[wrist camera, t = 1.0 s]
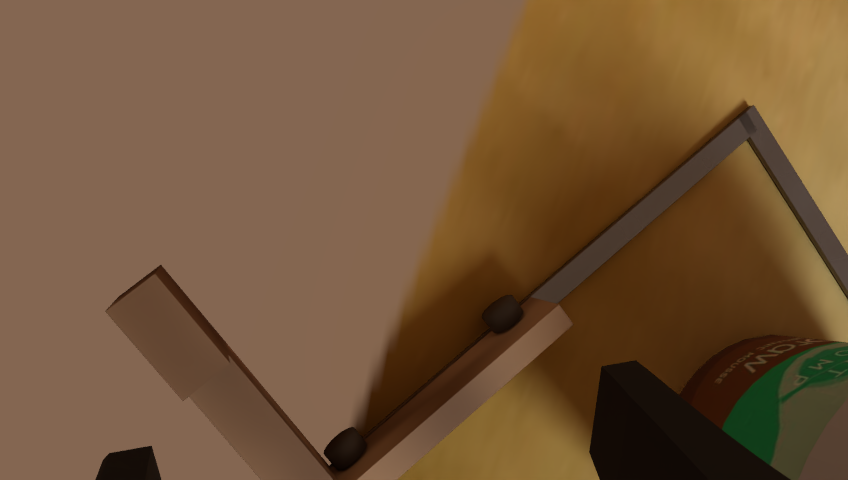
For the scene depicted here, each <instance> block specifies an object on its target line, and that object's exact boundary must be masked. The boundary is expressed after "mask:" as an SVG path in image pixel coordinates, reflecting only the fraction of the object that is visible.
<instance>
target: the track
mask: <svg viewBox="0 0 848 480" xmlns="http://www.w3.org/2000/svg"><path fill="white" fill-rule="evenodd" d="M745 140H748V141H749V143H750V145H751V146H752V148H753V149H754V151H755V152H756V154H757V156H758V157H759V159H760V160H761V162H762V163H763V165H764V167H765V168H766V170H767V171H768V173H769V174H770V176H771V178H772V179H773V181H774V182H775V184H776V186H777V187H778V189H779V190H780V192H781V193H782V195H783V197H784V198H785V200H786V201H787V203H788V204H789V206H790V208H791V209H792V211H793V212H794V214H795V215H796V217H797V219H798V220H799V222H800V223H801V225H802V227H803V228H804V230H805V231H806V233H807V234H808V236H809V238H810V239H811V241H812V242H813V244H814V245H815V247H816V249H817V250H818V252H819V253H820V255H821V256H822V258H823V260H824V261H825V263H826V264H827V266H828V268H829V269H830V271H831V272H832V274H833V275H834V277H835V279H836V280H837V282H838V283H839V285H840V286H841V288H842V290H843V291H844V293H845V294H846V296H847V297H848V255H847V253H846V251H845V250H844V248H843V247H842V245H841V243H840V242H839V240H838V239H837V237H836V235H835V234H834V232H833V231H832V229H831V227H830V226H829V224H828V223H827V221H826V219H825V218H824V216H823V215H822V213H821V212H820V210H819V208H818V207H817V205H816V204H815V202H814V200H813V199H812V197H811V196H810V194H809V192H808V191H807V189H806V188H805V186H804V184H803V183H802V181H801V180H800V178H799V176H798V175H797V173H796V172H795V170H794V168H793V167H792V165H791V164H790V162H789V160H788V159H787V157H786V156H785V154H784V152H783V151H782V149H781V148H780V146H779V144H778V143H777V141H776V140H775V138H774V136H773V135H772V133H771V132H770V130H769V128H768V127H767V125H766V124H765V122H764V120H763V119H762V117H761V116H760V114H759V112H758V111H757V109H756V108H755V106H754V105H752V106H749V107H748V108H747V109H746V110H744V111H743V112H742V113H741V114H740V115H739V116H737V117H736V118H735V119H734V120H733V121H732V122H730V123H729V124H728V125H727V126H726V127H725V128H723V129H722V130H721V131H720V132H719V133H718V134H716V135H715V136H714V137H713V138H712V139H711V140H709V141H708V142H707V143H706V144H705V145H703V146H702V147H701V148H700V149H699V150H698V151H696V152H695V153H694V154H693V155H692V156H691V157H689V158H688V159H687V160H686V161H685V162H684V163H682V164H681V165H680V166H679V167H678V168H677V169H675V170H674V171H673V172H672V173H671V174H670V175H668V176H667V177H666V178H665V179H664V180H663V181H661V182H660V183H659V184H658V185H657V186H656V187H654V188H653V189H652V190H651V191H650V192H649V193H647V194H646V195H645V196H644V197H643V198H642V199H640V200H639V201H638V202H637V203H636V204H635V205H633V206H632V207H631V208H630V209H629V210H628V211H626V212H625V213H624V214H623V215H622V216H621V217H619V218H618V219H617V220H616V221H615V222H614V223H612V224H611V225H610V226H609V227H608V228H607V229H605V230H604V231H603V232H602V233H601V234H600V235H598V236H597V237H596V238H595V239H594V240H592V241H591V242H590V243H589V244H588V245H587V246H585V247H584V248H583V249H582V250H581V251H580V252H578V253H577V254H576V255H575V256H574V257H573V258H571V259H570V260H569V261H568V262H567V263H566V264H564V265H563V266H562V267H561V268H560V269H559V270H557V271H556V272H555V273H554V274H553V275H552V276H550V277H549V278H548V279H547V280H546V281H545V282H543V283H542V284H541V285H540V286H539V287H538V288H536V289H535V290H534V291H533V292H532V293H531V294H529V295H528V296H527V297H526V298H525V299H524V300H522V301H521V302H520V303H519V305H520V306H521V305H522V304H523V303H525V302H526V301H527V300H528V299H529V298H530V297H533V298H536V299H540V300H544V301H548V302H552V303H556V304H557V303H558V302H560V301H561V300H562V299H563V298H564V297H565V296H566V295H568V294H569V293H570V292H571V291H572V290H573V289H575V288H576V287H577V286H578V285H579V284H580V283H581V282H583V281H584V280H585V279H586V278H587V277H588V276H590V275H591V274H592V273H593V272H594V271H595V270H596V269H598V268H599V267H600V266H601V265H602V264H603V263H605V262H606V261H607V260H608V259H609V258H610V257H612V256H613V255H614V254H615V253H616V252H617V251H618V250H620V249H621V248H622V247H623V246H624V245H625V244H627V243H628V242H629V241H630V240H631V239H632V238H633V237H635V236H636V235H637V234H638V233H639V232H640V231H642V230H643V229H644V228H645V227H646V226H647V225H648V224H650V223H651V222H652V221H653V220H654V219H655V218H657V217H658V216H659V215H660V214H661V213H662V212H663V211H665V210H666V209H667V208H668V207H669V206H670V205H672V204H673V203H674V202H675V201H676V200H677V199H678V198H680V197H681V196H682V195H683V194H684V193H685V192H687V191H688V190H689V189H690V188H691V187H692V186H693V185H695V184H696V183H697V182H698V181H699V180H700V179H702V178H703V177H704V176H705V175H706V174H707V173H708V172H710V171H711V170H712V169H713V168H714V167H715V166H717V165H718V164H719V163H720V162H721V161H722V160H723V159H725V158H726V157H727V156H728V155H729V154H730V153H732V152H733V151H734V150H735V149H736V148H737V147H738V146H740V145H741V144H742V143H743V142H744V141H745ZM491 331H492V330H491V329H488V330H487V331H486V332H485V333H484V334H483V335H481V336H480V337H479V338H478V339H477V340H476V341H474V342H473V343H472V344H471V345H470V346H469V347H467V348H466V349H465V350H464V351H463V352H462V353H460V354H459V355H458V356H457V357H456V358H455V359H453V360H452V361H451V362H450V363H449V364H448V365H446V366H445V367H444V368H443V369H442V370H441V371H439V372H438V373H437V374H436V375H435V376H434V377H432V378H431V379H430V380H429V381H428V382H427V383H425V384H424V385H423V386H422V387H421V388H420V389H418V390H417V391H416V392H415V393H414V394H413V395H411V396H410V397H409V398H408V399H407V400H406V401H404V402H403V403H402V404H401V405H400V406H399V407H397V408H396V409H395V410H394V411H393V412H392V413H390V414H389V415H388V416H387V417H386V418H385V419H383V420H382V421H381V422H380V423H379V424H377V425H376V426H375V427H374V428H373V429H372V430H370V431H369V432H368V433H367V434H366V435H365V436H363V437H362V438H363V439H364V440H365V439H366V438H367V437H368V436H369V435H371V434H372V433H373V432H374V431H375V430H376V429H378V428H379V427H380V426H381V425H382V424H383V423H385V422H386V421H387V420H388V419H389V418H390V417H392V416H393V415H394V414H395V413H396V412H397V411H399V410H400V409H401V408H402V407H403V406H404V405H406V404H407V403H408V402H409V401H410V400H411V399H413V398H414V397H415V396H416V395H417V394H418V393H420V392H421V391H422V390H423V389H424V388H425V387H427V386H428V385H429V384H430V383H431V382H432V381H434V380H435V379H436V378H437V377H438V376H439V375H441V374H442V373H443V372H444V371H445V370H446V369H448V368H449V367H450V366H451V365H452V364H453V363H455V362H456V361H457V360H458V359H459V358H460V357H462V356H463V355H464V354H465V353H466V352H467V351H469V350H470V349H471V348H472V347H473V346H474V345H476V344H477V343H478V342H479V341H480V340H481V339H483V338H484V337H485V336H486V335H487V334H488V333H490V332H491ZM332 467H333V464H331V465H330V468H332Z"/></svg>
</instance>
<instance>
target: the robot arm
mask: <svg viewBox="0 0 848 480" xmlns="http://www.w3.org/2000/svg"><path fill="white" fill-rule="evenodd" d="M589 452H590V455H591V458H592V460H593V463H594V466H595V468H596V471H597V474H598V476H599V479H600V480H791V479H789V478H788V477H786V476H785V475H783V474H782V473H780V472H779V471H778V470H776V469H775V468H773V467H772V466H770V465H769V464H767V463H766V462H765V461H763V460H762V459H760V458H759V457H758V456H756V455H755V454H754V453H752V452H751V451H749V450H748V449H747V448H745V447H744V446H743V445H741V444H740V443H739V442H738V441H736V440H735V439H734V438H732V437H731V436H730V435H728V434H727V433H726V432H724V431H723V430H722V429H720V428H719V427H718V426H717V425H715V424H714V423H713V422H712V421H710V420H709V419H708V418H706V417H705V416H704V415H703V414H701V413H700V412H699V411H698V410H697V409H695V408H694V407H693V406H692V405H690V404H689V403H688V402H687V401H685V400H684V399H683V398H682V397H680V396H679V395H678V394H677V393H676V392H674V391H673V390H672V389H671V388H669V387H668V386H667V385H666V384H664V383H663V382H662V381H661V380H660V379H658V378H657V377H656V376H655V375H653V374H652V373H651V372H650V371H649V370H647V369H646V368H645V367H644V366H642V365H641V364H640V363H639V362H637V361H636V360H635V361H630V362H624V363H618V364H613V365H607V366H602V368H601V375H600V382H599V389H598V395H597V402H596V409H595V416H594V423H593V430H592V437H591V444H590V451H589ZM96 480H161V477H160V473H159V470H158V467H157V463H156V459H155V456H154V453H153V449H152V446H148V447H143V448H136V449H131V450H126V451H120V452H114V453H109V454H108V455H107V456H106V457H105V459H104V460H103V462H102V464H101V467H100V469H99V472H98V475H97V477H96Z"/></svg>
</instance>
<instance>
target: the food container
mask: <svg viewBox="0 0 848 480" xmlns="http://www.w3.org/2000/svg"><path fill="white" fill-rule="evenodd" d="M679 396H680V397H682V398H683V399H684V400H685V401H687V402H688V403H689V404H690V405H692V406H693V407H694V408H695V409H697V410H698V411H699V412H700V413H701V414H703V415H704V416H705V417H706V418H708V419H709V420H710V421H712V422H713V423H714V424H715V425H717V426H718V427H719V428H720V429H722V430H723V431H724V432H726V433H727V434H728V435H730V436H731V437H732V438H734V439H735V440H736V441H738V442H739V443H740V444H741V445H743V446H744V447H745V448H747V449H748V450H749V451H751V452H752V453H754V454H755V455H756V456H758V457H759V458H760V459H762V460H763V461H765V462H766V463H767V464H769V465H770V466H772V467H773V468H775V469H776V470H778V471H779V472H780V473H782V474H783V475H785V476H786V477H788V478H789V479H791V480H848V343H845V342H836V341H826V340H817V339H807V338H797V337H788V336H778V335H768V336H762V337H757V338H751V339H746V340H743V341H740V342H738V343H736V344H733V345H731V346H729V347H727V348H725V349H724V350H722V351H721V352H719V353H718V354H716V355H714V356H713V357H712V358H711V359H710V360H708V361H707V362H706V363H705V364H704V365H703V366H702V367H701V368H699V369H698V371H697V372H696V373H695V374H694V375H693V377H692V378H691V379H690V380H689V382H688V383H687V384H686V385H685V387H684V389H683V390H682V392H681V394H680V395H679Z"/></svg>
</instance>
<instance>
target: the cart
mask: <svg viewBox="0 0 848 480" xmlns="http://www.w3.org/2000/svg"><path fill="white" fill-rule="evenodd" d="M106 313H107V314H108V315H109V316H110V317H111V319H112V320H113V321H114V322H115V323H116V324H117V326H118V327H119V328H120V329H121V330H122V331H123V332H124V334H125V335H126V336H127V337H128V338H129V339H130V341H131V342H132V343H133V344H134V345H135V346H136V348H138V350H139V351H140V352H141V353H142V354H143V356H144V357H145V358H146V359H147V360H148V361H149V363H150V364H151V365H152V366H153V367H154V368H155V369H156V371H157V372H158V373H159V374H160V375H161V376H162V377H163V379H164V380H165V381H166V382H167V383H168V384H169V386H170V387H171V388H172V389H173V390H174V391H175V393H176V394H177V395H178V396H179V397H180V398H181V399H182V400H183V401H184V400H185V399H186V398H188V397H190V398H191V399H192V400H193V402H194V403H195V404H196V405H197V406H198V407H199V409H200V410H201V411H202V412H203V413H204V414H205V416H206V417H207V418H208V419H209V420H210V421H211V423H212V424H213V425H214V426H215V427H216V428H217V429H218V431H219V432H220V433H221V434H222V435H223V436H224V437H225V439H226V440H227V441H228V442H229V443H230V444H231V445H232V447H233V448H234V449H235V450H236V452H237V453H238V454H239V455H240V456H241V457H242V458H243V460H245V462H246V463H247V464H248V465H249V467H250V468H251V469H252V470H253V471H254V472H255V474H256V475H257V476H258V477H259V478H260V479H261V480H397V479H398V478H399V477H400V476H401V475H402V474H404V473H405V472H406V471H407V470H408V469H409V468H410V467H412V466H413V465H414V464H415V463H416V462H417V461H418V460H420V459H421V458H422V457H423V456H424V455H425V454H426V453H428V452H429V451H430V450H431V449H432V448H433V447H434V446H435V445H437V444H438V443H439V442H440V441H441V440H442V439H443V438H445V437H446V436H447V435H448V434H449V433H450V432H451V431H453V430H454V429H455V428H456V427H457V426H458V425H459V424H461V423H462V422H463V421H464V420H465V419H466V418H467V417H469V416H470V415H471V414H472V413H473V412H474V411H475V410H477V409H478V408H479V407H480V406H481V405H482V404H483V403H484V402H486V401H487V400H488V399H489V398H490V397H491V396H492V395H494V394H495V393H496V392H497V391H498V390H499V389H500V388H502V387H503V386H504V385H505V384H506V383H507V382H508V381H510V380H511V379H512V378H513V377H514V376H515V375H516V374H518V373H519V372H520V371H521V370H522V369H523V368H524V367H526V366H527V365H528V364H529V363H530V362H531V361H532V360H534V359H535V358H536V357H537V356H538V355H539V354H540V353H541V352H543V351H544V350H545V349H546V348H547V347H548V346H549V345H551V344H552V343H553V342H554V341H555V340H556V339H557V338H559V337H560V336H561V335H562V334H563V333H564V332H565V331H567V330H568V329H569V328H570V327H571V326H572V325H573V323H572V321H571V320H570V319H569V317H568V316H567V315H566V313H565V312H564V310H563V309H562V308H561V306H560V305H559V304H556V303H552V302H548V301H544V300H540V299H536V298H533V297H530V298H529V299H528V300H527V301H526V302H525V303H523V304H522V305H521V306H520V305H519V304H518V303H517V301H516V300H515V299H514V297H513V296H512V295H506V296H504V297H502V298H500V299H498V300H497V301H495V302H494V303H492V304H491V305H490V306H489V307H488V308H487V309H486V310H485V311H484V313H483V315H482V318H483V319H484V321H485V322H486V323H487V325H488V326H489V327H490V329H491V330H492V331H491V332H490V333H488V334H487V335H486V336H485V337H484V338H483V339H481V340H480V341H479V342H478V343H477V344H476V345H474V346H473V347H472V348H471V349H470V350H469V351H467V352H466V353H465V354H464V355H463V356H462V357H460V358H459V359H458V360H457V361H456V362H455V363H453V364H452V365H451V366H450V367H449V368H448V369H446V370H445V371H444V372H443V373H442V374H441V375H439V376H438V377H437V378H436V379H435V380H434V381H432V382H431V383H430V384H429V385H428V386H427V387H425V388H424V389H423V390H422V391H421V392H420V393H418V394H417V395H416V396H415V397H414V398H413V399H411V400H410V401H409V402H408V403H407V404H406V405H404V406H403V407H402V408H401V409H400V410H399V411H397V412H396V413H395V414H394V415H393V416H392V417H390V418H389V419H388V420H387V421H386V422H385V423H383V424H382V425H381V426H380V427H379V428H378V429H376V430H375V431H374V432H373V433H372V434H371V435H369V436H368V437H367V438H366V439H365V440H364V439H363V438H362V437H361V435H360V434H359V433H358V432H357V430H356V429H355V428H354V427H351V428H348V429H346V430H344V431H342V432H341V433H339V434H338V435H337V436H336V437H335V438H334V439H332V440H331V442H330V443H329V444H328V445H327V447H326V449H325V450H324V455H325V456H326V457H327V458H328V460H329V461H330V462H331V463H332V464H333V467H332V468H330V466H329V465H328V464H327V463H326V462H325V460H324V459H323V458H322V457H321V456H320V454H319V453H318V452H317V451H316V450H315V448H314V447H313V446H312V445H311V444H310V442H309V441H308V440H307V439H306V438H305V437H304V435H303V434H302V433H301V432H300V431H299V429H298V428H297V427H296V426H295V425H294V424H293V422H292V421H291V420H290V419H289V417H288V416H287V415H286V414H285V413H284V411H283V410H282V409H281V408H280V407H279V405H278V404H277V403H276V402H275V401H274V399H273V398H272V397H271V396H270V395H269V394H268V392H267V391H266V390H265V389H264V388H263V386H262V385H261V384H260V383H259V382H258V380H257V379H256V378H255V377H254V376H253V374H252V373H251V372H250V371H249V370H248V368H247V367H246V366H245V365H244V364H243V363H242V361H241V360H240V359H239V358H238V356H237V355H236V354H235V353H234V352H233V351H232V349H231V348H230V347H229V346H228V344H227V343H226V342H225V341H224V340H223V338H222V337H221V336H220V335H219V334H218V333H217V331H216V330H215V329H214V328H213V327H212V325H211V324H210V323H209V322H208V321H207V319H206V318H205V317H204V316H203V315H202V313H201V312H200V311H199V310H198V309H197V308H196V306H195V305H194V304H193V303H192V302H191V300H190V299H189V298H188V297H187V296H186V294H185V293H184V292H183V291H182V290H181V289H180V287H179V286H178V285H177V283H176V282H175V281H174V280H173V279H172V278H171V276H170V275H169V274H168V273H167V272H166V270H165V269H164V268H163V267H162V266H161V265H160V266H159V267H157V268H156V269H155V270H153V271H152V272H151V273H149V274H148V275H147V276H145V277H144V278H143V279H141V280H140V281H139V282H137V283H136V284H135V285H134V286H132V287H131V288H130V289H128V290H127V291H126V292H124V293H123V294H122V295H120V296H119V297H118V298H117V299H116V300H115V301H114V302H113V303H112V305H111V306H110V307H109V308H108V309H107V310H106Z"/></svg>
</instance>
